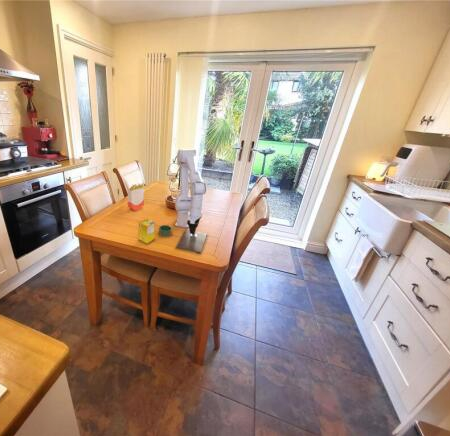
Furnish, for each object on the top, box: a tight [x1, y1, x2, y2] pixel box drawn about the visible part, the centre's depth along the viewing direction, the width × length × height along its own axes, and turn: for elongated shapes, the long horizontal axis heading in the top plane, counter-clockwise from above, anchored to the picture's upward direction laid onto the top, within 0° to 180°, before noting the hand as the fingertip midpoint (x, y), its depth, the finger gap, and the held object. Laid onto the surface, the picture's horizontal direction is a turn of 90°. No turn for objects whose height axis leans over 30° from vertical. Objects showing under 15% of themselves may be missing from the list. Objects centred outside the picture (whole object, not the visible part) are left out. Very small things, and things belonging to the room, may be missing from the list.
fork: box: [190, 230, 197, 241], centre depth 122 cm, size 2×3×9 cm
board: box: [176, 229, 208, 255], centre depth 124 cm, size 20×12×1 cm, turn 162°
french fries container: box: [127, 183, 145, 211], centre depth 158 cm, size 5×11×18 cm, turn 137°
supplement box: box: [138, 218, 156, 245], centre depth 121 cm, size 6×6×11 cm
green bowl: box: [158, 224, 173, 238], centre depth 129 cm, size 7×7×4 cm
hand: (193, 230), depth 121 cm, fingers open, 7 cm apart
